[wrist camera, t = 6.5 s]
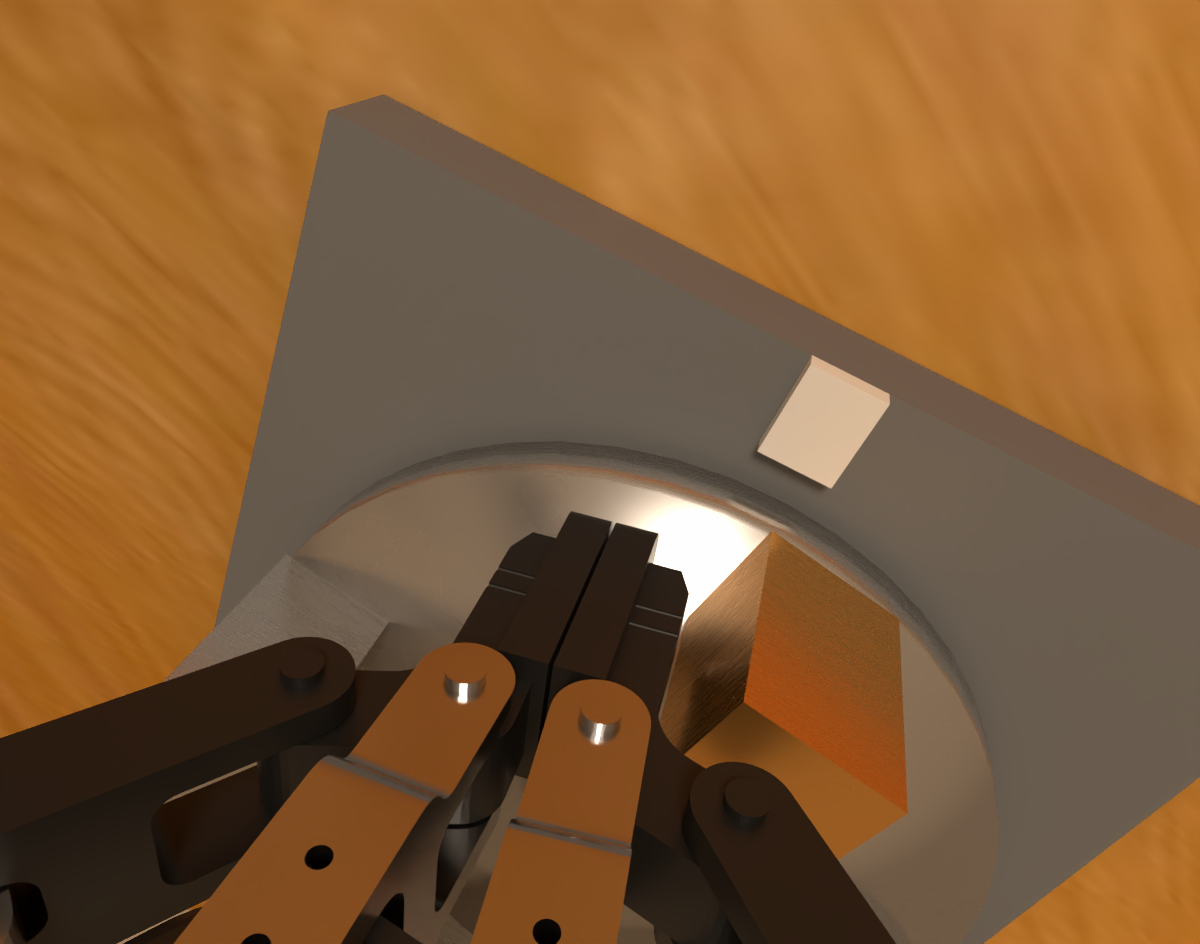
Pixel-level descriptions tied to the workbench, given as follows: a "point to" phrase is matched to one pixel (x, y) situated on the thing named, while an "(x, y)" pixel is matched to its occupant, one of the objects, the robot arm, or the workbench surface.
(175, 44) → the workbench surface
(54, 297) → the workbench surface
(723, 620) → the lugged metal dish
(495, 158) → the base plate
